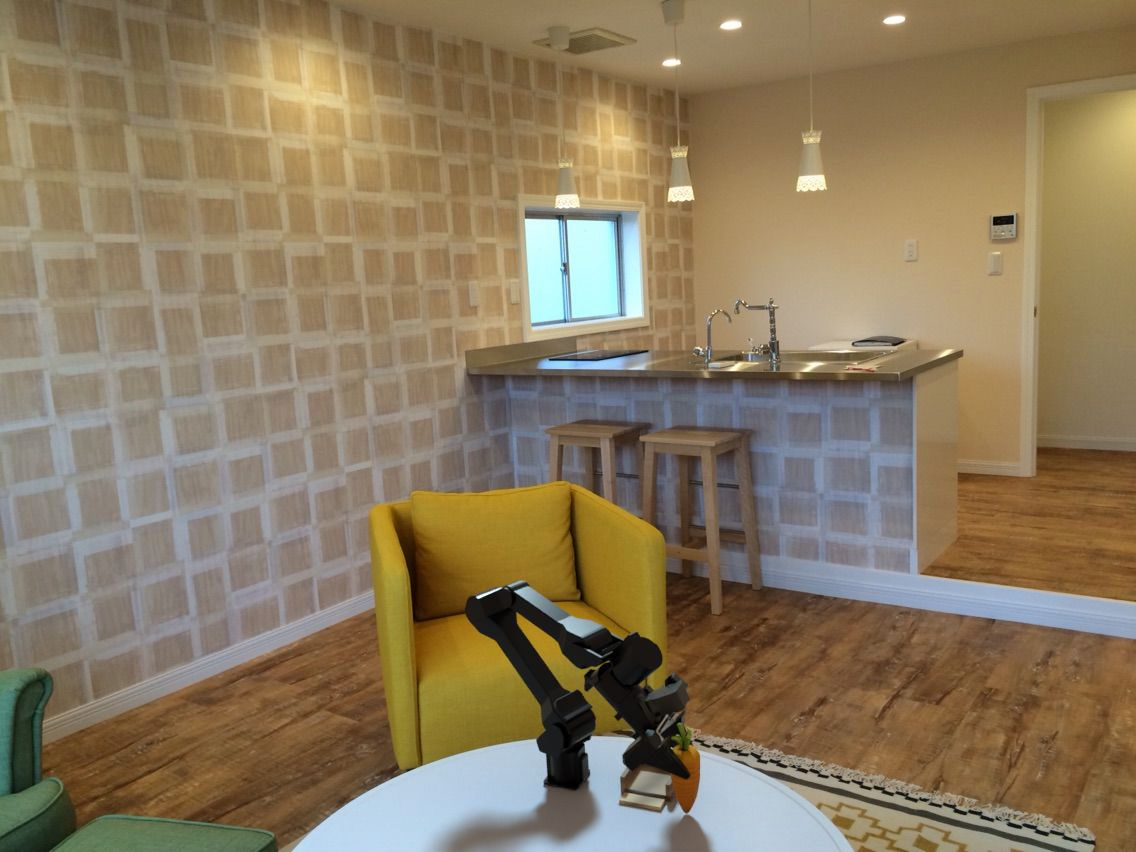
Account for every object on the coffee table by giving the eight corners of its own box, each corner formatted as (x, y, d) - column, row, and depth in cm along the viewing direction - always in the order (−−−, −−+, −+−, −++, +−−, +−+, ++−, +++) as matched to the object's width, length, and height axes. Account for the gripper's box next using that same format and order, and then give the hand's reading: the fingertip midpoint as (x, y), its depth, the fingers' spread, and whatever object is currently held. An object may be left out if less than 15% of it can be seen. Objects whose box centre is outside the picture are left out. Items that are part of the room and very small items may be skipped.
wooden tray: (614, 802, 155) (613, 785, 154) (637, 767, 166) (637, 751, 165) (665, 811, 151) (664, 794, 151) (685, 775, 162) (684, 759, 162)
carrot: (701, 823, 147) (698, 735, 145) (669, 820, 148) (666, 733, 146) (702, 805, 152) (700, 720, 150) (672, 803, 153) (669, 718, 151)
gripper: (638, 691, 139) (712, 771, 137) (675, 644, 156) (741, 715, 154) (592, 732, 144) (663, 811, 141) (632, 682, 161) (696, 751, 158)
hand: (693, 769), depth 148 cm, fingers closed on carrot, 5 cm apart
